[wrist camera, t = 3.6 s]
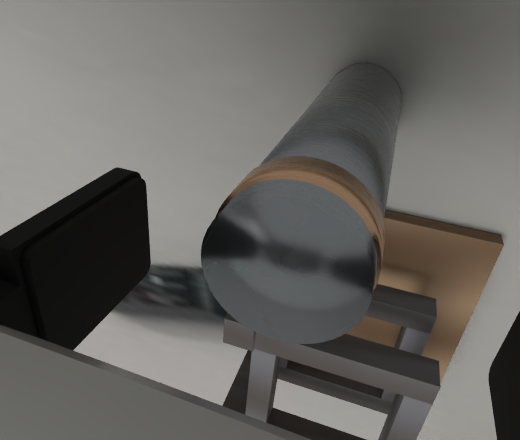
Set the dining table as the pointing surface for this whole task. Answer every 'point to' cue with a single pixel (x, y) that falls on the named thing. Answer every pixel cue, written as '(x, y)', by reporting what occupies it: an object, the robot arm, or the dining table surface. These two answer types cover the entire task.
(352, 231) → the tube
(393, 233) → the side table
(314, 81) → the dining table surface
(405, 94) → the dining table surface
